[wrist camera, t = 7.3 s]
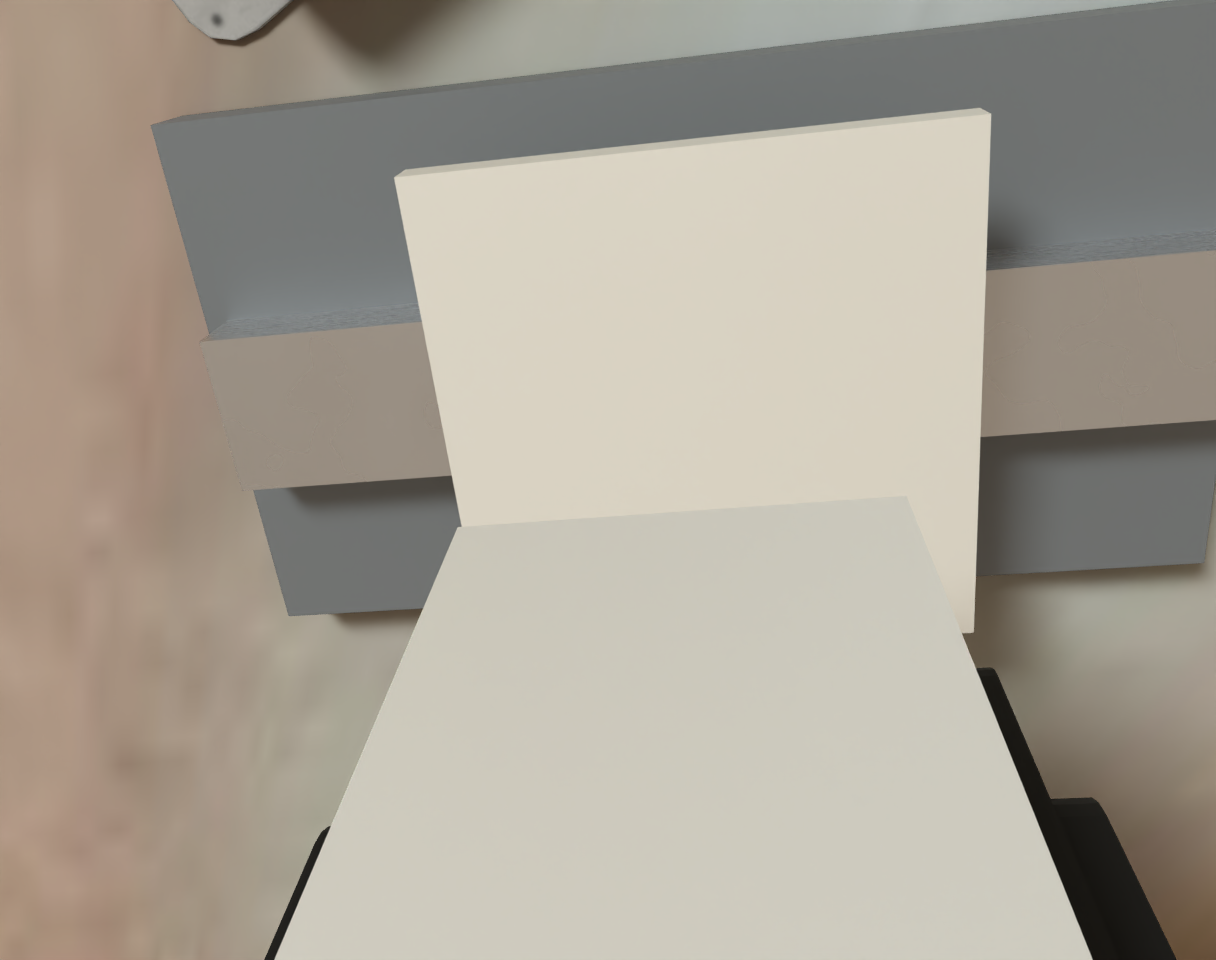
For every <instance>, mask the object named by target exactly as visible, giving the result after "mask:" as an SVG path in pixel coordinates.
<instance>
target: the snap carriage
mask: <svg viewBox="0 0 1216 960" xmlns="http://www.w3.org/2000/svg"><path fill="white" fill-rule="evenodd" d="M990 137H991V113H989V112H987V111H985V110H983V109H981V108H973V109H964V110H954V111H945V112H936V113H926V114H917V115H908V116H899V117H889V118H880V119H871V120H861V121H852V122H843V123H833V124H824V125H815V126H806V127H796V128H787V129H778V130H768V131H759V132H750V133H740V134H731V135H722V136H712V137H703V138H694V139H685V140H675V141H666V142H657V143H647V144H638V145H629V146H619V147H610V148H601V149H592V150H582V151H573V152H564V153H554V154H545V155H536V156H526V157H517V158H508V159H498V160H489V161H480V162H471V163H461V164H452V165H443V166H433V167H424V168H415V169H405V170H404V171H403V172H401V173H400V174H398V175H397V176H395V177H394V180H395V185H396V190H397V196H398V201H399V206H400V211H401V216H402V221H403V226H404V232H405V237H406V242H407V247H408V252H409V257H410V263H411V268H412V273H413V278H414V283H415V288H416V294H417V299H418V304H419V309H420V314H421V319H422V324H423V330H424V335H425V340H426V345H427V350H428V355H429V361H430V366H431V371H432V376H433V381H434V386H435V392H436V397H437V402H438V407H439V412H440V417H441V423H442V428H443V433H444V438H445V443H446V448H447V453H448V459H449V464H450V469H451V474H452V479H453V484H454V490H455V495H456V500H457V505H458V510H459V515H460V521H461V526H462V527H468V526H482V525H497V524H511V523H525V522H540V521H554V520H568V519H583V518H597V517H611V516H626V515H640V514H654V513H669V512H683V511H697V510H712V509H726V508H740V507H755V506H769V505H783V504H798V503H812V502H826V501H841V500H855V499H869V498H884V497H898V496H907V498H908V501H909V503H910V506H911V508H912V511H913V513H914V516H915V518H916V521H917V523H918V526H919V528H920V531H921V533H922V536H923V538H924V541H925V543H926V546H927V548H928V551H929V553H930V556H931V558H932V561H933V563H934V566H935V568H936V571H937V573H938V576H939V578H940V581H941V583H942V586H943V588H944V591H945V593H946V596H947V598H948V600H949V603H950V605H951V608H952V610H953V613H954V615H955V618H956V620H957V623H958V625H959V628H960V630H961V633H974V613H975V583H976V553H977V524H978V494H979V464H980V434H981V405H982V375H983V345H984V315H985V286H986V256H987V226H988V197H989V167H990Z"/></svg>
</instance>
